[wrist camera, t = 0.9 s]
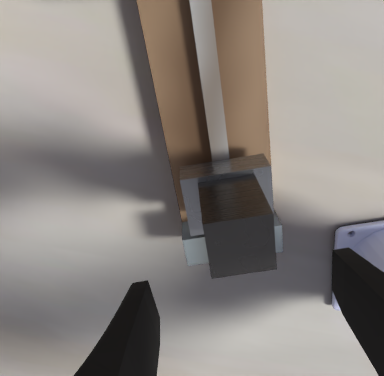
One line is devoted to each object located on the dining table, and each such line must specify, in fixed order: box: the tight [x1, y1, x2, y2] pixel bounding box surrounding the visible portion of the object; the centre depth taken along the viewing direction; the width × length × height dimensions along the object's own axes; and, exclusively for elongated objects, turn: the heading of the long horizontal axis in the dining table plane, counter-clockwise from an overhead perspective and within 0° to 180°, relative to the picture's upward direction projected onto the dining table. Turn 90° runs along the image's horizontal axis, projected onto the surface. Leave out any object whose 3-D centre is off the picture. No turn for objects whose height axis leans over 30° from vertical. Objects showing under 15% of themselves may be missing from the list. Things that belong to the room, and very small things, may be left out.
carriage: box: [180, 153, 277, 278], centre depth 17 cm, size 5×4×6 cm
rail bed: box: [137, 0, 283, 266], centre depth 18 cm, size 6×20×3 cm, turn 9°
